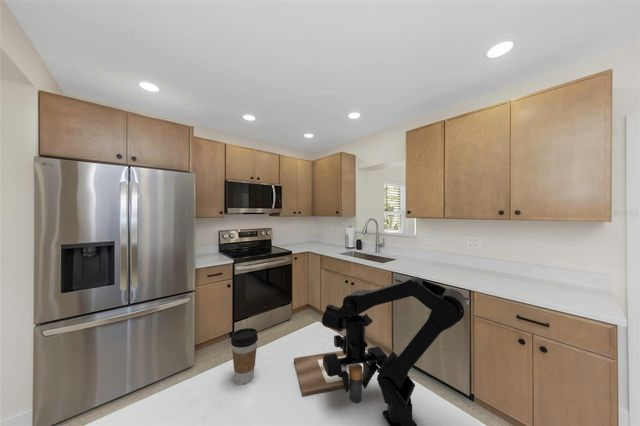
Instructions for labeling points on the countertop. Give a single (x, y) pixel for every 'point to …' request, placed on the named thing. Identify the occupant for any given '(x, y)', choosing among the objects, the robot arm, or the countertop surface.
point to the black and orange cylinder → (355, 383)
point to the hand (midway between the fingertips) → (355, 389)
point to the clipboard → (317, 374)
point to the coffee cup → (244, 354)
